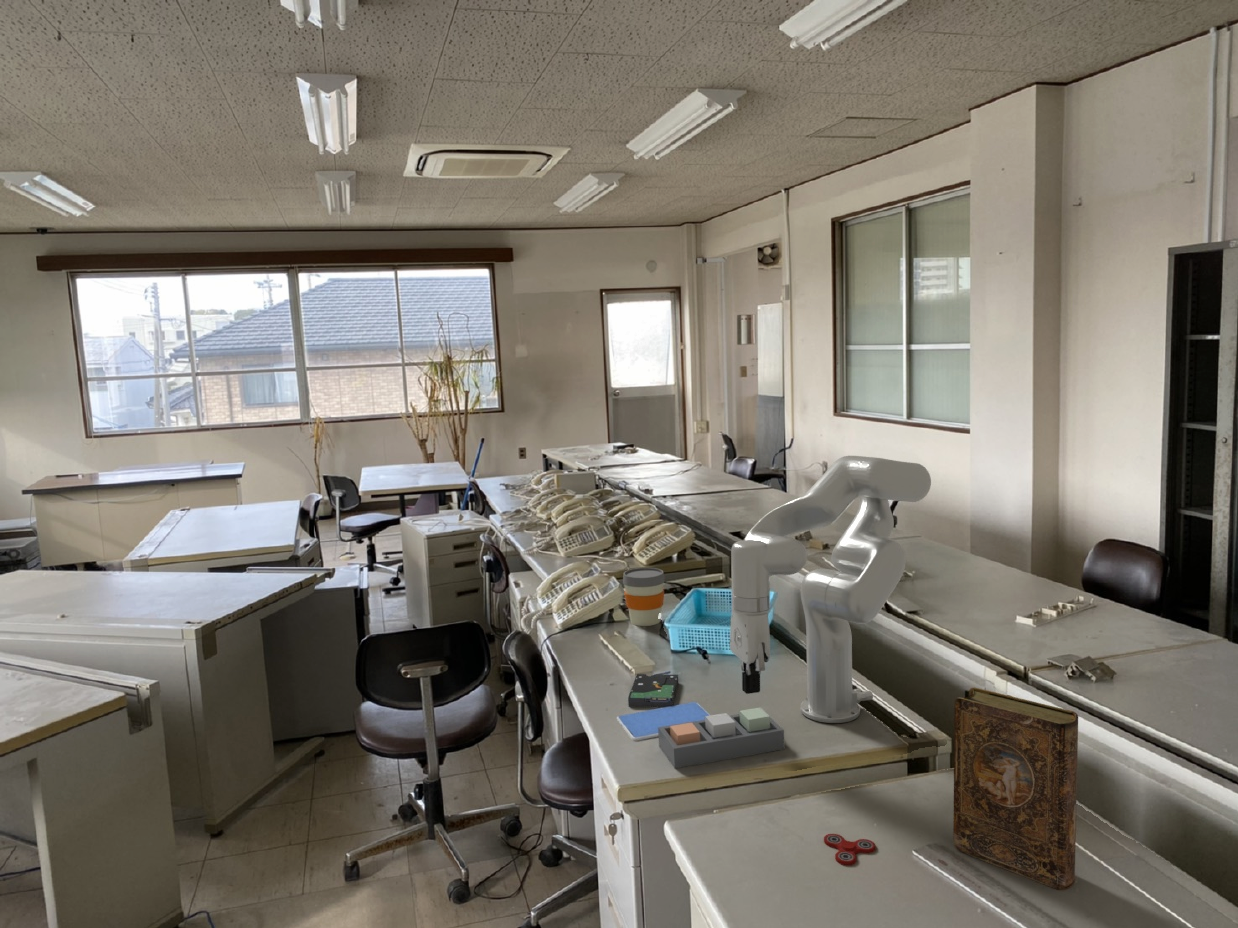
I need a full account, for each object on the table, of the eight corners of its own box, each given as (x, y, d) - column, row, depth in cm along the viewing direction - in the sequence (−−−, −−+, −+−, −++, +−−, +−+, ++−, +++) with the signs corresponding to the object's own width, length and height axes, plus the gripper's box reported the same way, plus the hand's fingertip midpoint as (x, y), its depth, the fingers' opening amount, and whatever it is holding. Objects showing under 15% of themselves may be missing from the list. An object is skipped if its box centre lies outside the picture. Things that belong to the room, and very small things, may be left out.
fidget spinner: (821, 840, 136) (821, 832, 136) (864, 835, 137) (864, 827, 137) (839, 869, 129) (839, 861, 128) (885, 863, 129) (885, 855, 129)
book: (1079, 875, 124) (1083, 713, 121) (1066, 893, 120) (1070, 726, 117) (968, 834, 135) (969, 685, 132) (953, 849, 131) (953, 696, 128)
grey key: (726, 724, 172) (726, 712, 171) (735, 733, 167) (735, 721, 167) (705, 728, 170) (705, 716, 170) (713, 737, 166) (713, 725, 166)
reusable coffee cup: (663, 613, 259) (661, 566, 257) (668, 626, 247) (666, 576, 245) (623, 616, 259) (621, 568, 257) (626, 629, 246) (623, 579, 244)
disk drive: (636, 684, 206) (628, 709, 191) (635, 673, 205) (627, 697, 191) (678, 685, 204) (673, 709, 189) (678, 673, 204) (673, 697, 189)
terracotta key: (692, 734, 170) (691, 722, 169) (700, 744, 165) (699, 731, 165) (670, 737, 169) (670, 726, 168) (677, 747, 164) (677, 735, 164)
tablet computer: (633, 744, 174) (632, 738, 174) (615, 720, 186) (615, 714, 186) (719, 727, 179) (718, 722, 179) (696, 705, 191) (696, 700, 191)
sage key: (760, 718, 173) (760, 707, 173) (770, 728, 169) (769, 716, 169) (739, 722, 172) (739, 710, 172) (748, 731, 168) (748, 719, 168)
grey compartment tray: (763, 728, 177) (762, 710, 176) (784, 749, 167) (783, 729, 167) (658, 745, 171) (658, 727, 171) (674, 768, 162) (673, 748, 161)
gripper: (719, 595, 174) (719, 680, 176) (748, 614, 159) (748, 707, 161) (752, 591, 175) (753, 676, 177) (784, 611, 161) (784, 703, 163)
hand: (751, 691), depth 169 cm, fingers closed
